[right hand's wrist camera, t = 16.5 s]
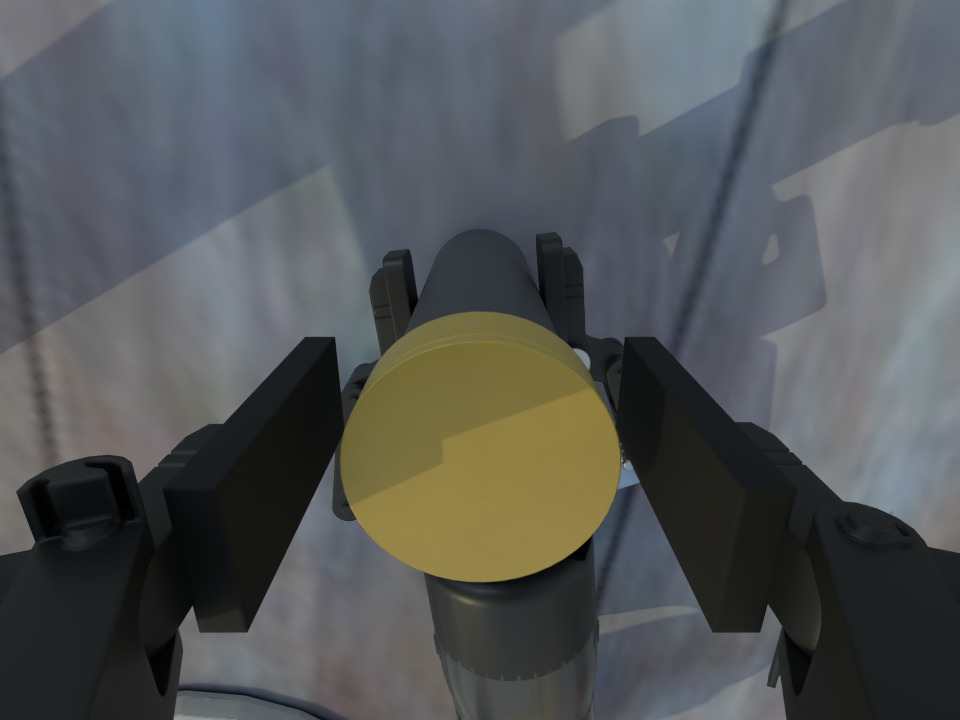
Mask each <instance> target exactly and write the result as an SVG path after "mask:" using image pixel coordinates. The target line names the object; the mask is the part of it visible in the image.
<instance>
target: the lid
mask: <svg viewBox="0 0 960 720" xmlns="http://www.w3.org/2000/svg"><path fill="white" fill-rule="evenodd" d="M340 474H341V480H342V484H343V489H344V493H345V495H346V498H347V500H348V503H349V505H350V508H351V510H352V511H353V513H354V515H355V517H356V518H357V520H358V522H359V523H360V524H361V526H362V527H363V528H364V530H365V531H366V532H367V534H368V535H369V536H370V537H371V538H372V539H373V540H374V541H375V542H376V543H377V544H378V545H379V546H381V547H382V548H383V549H384V550H386V551H387V552H388V553H389V554H391V555H392V556H394V557H395V558H397V559H399V560H400V561H402V562H403V563H405V564H407V565H409V566H411V567H414V568H416V569H418V570H420V571H423V572H426V573H428V574H431V575H434V576H438V577H442V578H447V579H451V580H458V581H466V582H494V581H504V580H509V579H515V578H519V577H523V576H526V575H530V574H533V573H536V572H538V571H541V570H543V569H545V568H548V567H550V566H552V565H554V564H555V563H557V562H559V561H561V560H563V559H564V558H566V557H567V556H569V555H570V554H571V553H573V552H574V551H576V550H577V549H578V548H579V547H580V546H581V545H583V544H584V543H585V542H586V541H587V540H588V539H589V538H590V537H591V536H592V534H593V533H594V532H595V531H596V530H597V529H598V527H599V526H600V525H601V523H602V521H603V520H604V518H605V517H606V515H607V514H608V512H609V510H610V507H611V505H612V503H613V501H614V499H615V495H616V492H617V489H618V485H619V481H620V474H621V448H620V441H619V436H618V433H617V430H616V427H615V423H614V420H613V418H612V416H611V414H610V412H609V410H608V408H607V406H606V404H605V402H604V400H603V398H602V396H601V394H600V392H599V390H598V388H597V386H596V384H595V382H594V380H593V378H592V376H591V374H590V372H589V370H588V368H587V367H586V365H585V364H584V363H583V361H582V360H581V358H580V357H579V356H578V355H577V354H576V352H575V351H574V350H573V349H572V348H571V347H570V346H569V345H568V344H567V343H566V342H564V341H563V340H562V339H561V338H559V337H558V336H557V335H556V334H554V333H552V332H551V331H549V330H547V329H546V328H544V327H542V326H540V325H538V324H536V323H534V322H531V321H529V320H527V319H523V318H520V317H516V316H513V315H509V314H503V313H496V312H477V311H476V312H465V313H457V314H453V315H448V316H444V317H441V318H438V319H435V320H432V321H430V322H427V323H425V324H423V325H421V326H419V327H417V328H415V329H413V330H412V331H410V332H409V333H407V334H406V335H404V336H403V337H402V338H400V339H399V340H398V341H397V342H395V343H394V344H393V345H392V346H391V347H390V348H389V349H388V350H387V351H386V352H385V354H384V355H383V356H382V357H381V359H380V360H379V361H378V362H377V364H376V365H375V367H374V369H373V371H372V372H371V374H370V376H369V378H368V380H367V382H366V384H365V386H364V388H363V390H362V392H361V394H360V396H359V398H358V400H357V402H356V404H355V406H354V408H353V410H352V412H351V414H350V417H349V419H348V422H347V424H346V427H345V429H344V433H343V437H342V442H341V448H340Z"/></svg>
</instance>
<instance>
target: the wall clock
mask: <svg viewBox="0 0 960 720" xmlns="http://www.w3.org/2000/svg"><path fill="white" fill-rule="evenodd" d="M174 720H320V719H318V718H316V717H314V716H312V715H309V714H307V713H305V712H303V711H301V710H297V709H294V708H290V707H286V706H282V705H279V704H275V703H271V702H267V701H264V700H260V699H256V698H252V697H249V696H245V695H233V694H222V693H210V692H199V691H187V690H186V691H177V698H176V705H175V713H174Z"/></svg>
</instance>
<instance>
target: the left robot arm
mask: <svg viewBox="0 0 960 720" xmlns="http://www.w3.org/2000/svg"><path fill="white" fill-rule="evenodd" d="M536 249H537V264H538V278H539V293H540V296H541V298H542V301H543V303H544V306H545V308H546V310H547V313H548V315H549V318H550V320H551V322H552V325H553V327H554V330H555V332H556V334H557V336H558V337H559V338H561V339H562V340H563V341H564V342H566V343H567V344H568V345H569V346H570V347H571V348H572V349H573V350H574V351H575V352H576V354H577V355H578V356H579V357H580V358H581V360H582V361H583V363H584V364H585V365H586V367H587V368H588V370H589V372H590V374H591V376H592V378H593V380H595V381H599V382H603V385H604V388H605V391H606V394H607V397H608V400H609V403H610V406H611V409H612V412H613V416H614V419H615V422H616V418H617V409H618V399H619V390H620V380H621V371H622V361H623V352H624V346H623V345H622V343H621V342H620V341H619V340H617V339H615V338H605V339H603V340H601V339H597V338H593V337H590V336H588V335H586V334H585V310H584V286H583V267H582V265H581V263H580V261H579V259H578V256H577V254H576V253H575V252H574V251H573V250H572V249H571V248H570V247H567V248H563V246H562V240H561V238H560V236H559V235H558V234H557V233H556V232H553V233H544V234H536ZM369 293H370V298H371V304H372V307H373V314H374V318H375V324H376V330H377V335H378V340H379V345H380V351H381V357H382V356H383V355H384V354H385V352H386V351H387V350H388V349H389V348H390V347H391V346H392V345H393V344H394V343H395V342H397V341H398V340H399V339H400V338H402V337H403V336H404V334H405V331H406V329H407V327H408V324H409V322H410V319H411V317H412V314H413V312H414V310H415V307H416V305H417V302H418V296H417V290H416V283H415V277H414V271H413V264H412V258H411V254H410V251H409V249H405V250H396V251H389V253H388V254H387V255H386V256H385V257H384V259H383V268H380V269H379V270H378V271H377V272H376V273H375V274H374V275H373V277H372V281H371V285H370V290H369ZM380 359H381V358H380ZM380 359H378V360H377V361H374V362H372V363H370V364H367V363H365V364H361V365H359V366H357V367H356V368H355V370H354V372H353V373H352V375H351V377H350V379H349V380H348V382H347V384H346V386H345V387H344V389H343V391H342V393H341V399H342V409H343V418H344V427H346V424H347V422H348V419H349V417H350V414H351V412H352V410H353V408H354V406H355V404H356V402H357V400H358V398H359V396H360V394H361V392H362V390H363V388H364V386H365V384H366V382H367V380H368V378H369V376H370V374H371V372H372V371H373V369H374V367H375V365H376V364H377V362H378V361H379V360H380ZM342 437H343V436H342ZM619 441H620V440H619ZM341 442H342V438H341V440H340V442H339V444H338V446H337V448H336V452H335V470H334V488H333V505H332V509H333V512H334V514H335V515H336V516H337V517H338V518H340V519H342V520H345V521H353V520H356V519H357V518H356V517H355V515H354V513H353V511H352V510H351V508H350V505H349V503H348V500H347V498H346V495H345V493H344V489H343V484H342V480H341V474H340V448H341ZM620 448H621V474H620V481H619V485H618V489H621V488H624V487H628V486H631V485H634V484H637V483H640V481H639V479H638V477H637V475H636V473H635V471H634V469H633V467H632V465H631V462H630V460H629V458H628V456H627V454H626V452H625V450H624V448H623V446H622V444H621V442H620ZM641 486H642V485H641ZM618 489H617V490H618ZM424 575H425V581H426V586H427V591H428V596H429V602H430V607H431V612H432V617H433V623H434V628H435V629H434V641H435V646H436V651H437V654H438V655H439V657H440V660H441V665H442V669H443V673H444V676H445V679H446V682H447V685H448V687H449V690H450V692H451V695H452V697H453V700H454V705H455V711H456V716H457V720H595V711H594V688H593V686H594V678H595V672H596V665H597V644H598V642H599V619H598V618H597V615H596V598H595V573H594V546H593V534H592V536H591V537H590V538H589V539H588V540H587V541H586V542H585V543H584V544H583V545H581V546H580V547H579V548H578V549H577V550H576V551H574V552H573V553H571V554H570V555H569V556H567V557H566V558H564V559H563V560H561V561H559V562H557V563H555V564H554V565H552V566H550V567H548V568H545V569H543V570H541V571H538V572H536V573H533V574H530V575H526V576H523V577H519V578H515V579H509V580H504V581H494V582H466V581H458V580H451V579H447V578H442V577H438V576H434V575H431V574H428V573H426V572H424Z"/></svg>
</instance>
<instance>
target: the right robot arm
mask: <svg viewBox="0 0 960 720" xmlns="http://www.w3.org/2000/svg"><path fill="white" fill-rule="evenodd" d="M344 429H345V427H344V418H343V409H342V399H341V390H340V380H339V371H338V362H337V352H336V343H335V337H305V338H304V339H303V340H302V341H301V342H300V343H299V344H298V345H297V346H296V347H295V348H294V350H293V351H292V352H291V353H290V354H289V355H288V356H287V357H286V358H285V359H284V360H283V361H282V362H281V363H280V364H279V365H278V367H277V368H276V369H275V370H274V371H273V372H272V373H271V374H270V375H269V376H268V377H267V378H266V379H265V380H264V381H263V382H262V384H261V385H260V386H259V387H258V388H257V389H256V390H255V391H254V392H253V393H252V394H251V395H250V396H249V397H248V398H247V399H246V401H245V402H244V403H243V404H242V405H241V406H240V407H239V408H238V409H237V410H236V411H235V412H234V413H233V414H232V415H231V416H230V418H229V419H228V420H227V421H226V422H225V423H224V424H209V425H207V426H205V427H203V428H201V429H199V430H198V431H196V432H194V433H192V434H190V435H188V436H187V437H185V438H184V439H183V440H182V441H181V442H180V443H179V444H178V445H177V446H176V447H175V448H174V449H173V450H172V451H171V454H168V455H167V456H166V457H165V458H164V459H163V460H162V461H161V462H160V463H159V464H158V467H155V468H154V469H152V470H151V471H150V472H149V473H148V474H147V475H146V476H145V477H144V478H143V479H142V480H141V481H140V482H139V483H137V480H136V476H135V473H134V469H133V465H132V462H130V461H129V460H127V459H126V458H124V457H121V456H113V455H102V456H90V457H85V458H81V459H77V460H73V461H69V462H66V463H63V464H60V465H58V466H55V467H53V468H50V469H48V470H45V471H44V472H42V473H40V474H38V475H37V476H35V477H33V478H31V479H30V480H28V481H27V482H26V483H25V484H24V485H23V486H22V487H21V488H20V489H18V490H17V491H16V492H17V495H18V497H19V500H20V503H21V505H22V508H23V511H24V513H25V516H26V518H27V521H28V524H29V526H30V529H31V531H32V534H33V537H34V539H35V544H34V546H33V548H32V549H31V550H27V551H22V552H17V553H12V554H7V555H2V556H0V720H174V713H175V705H176V698H177V691H178V684H179V677H180V669H181V662H182V655H183V647H182V640H181V636H180V633H179V629H178V628H179V626H180V624H181V623H182V621H183V620H184V618H185V617H186V615H187V613H188V612H189V610H190V609H191V607H192V606H193V608H194V612H195V616H196V620H197V624H198V627H199V631H200V632H248V630H249V628H250V626H251V624H252V622H253V619H254V617H255V615H256V613H257V611H258V609H259V607H260V605H261V603H262V601H263V599H264V597H265V595H266V593H267V591H268V589H269V586H270V584H271V582H272V580H273V578H274V576H275V574H276V572H277V570H278V568H279V566H280V564H281V562H282V560H283V558H284V555H285V553H286V551H287V549H288V547H289V545H290V543H291V541H292V539H293V537H294V535H295V533H296V531H297V529H298V527H299V524H300V522H301V520H302V518H303V516H304V514H305V512H306V510H307V508H308V506H309V504H310V502H311V500H312V498H313V496H314V493H315V491H316V489H317V487H318V485H319V483H320V481H321V479H322V477H323V475H324V473H325V471H326V469H327V467H328V465H329V462H330V460H331V458H332V456H333V454H334V452H335V450H336V448H337V446H338V444H339V442H340V440H341V438H342V436H343V433H344ZM616 430H617V433H618V436H619V440H620V442H621V444H622V446H623V448H624V450H625V452H626V454H627V456H628V458H629V460H630V462H631V465H632V467H633V469H634V471H635V473H636V475H637V477H638V479H639V481H640V483H641V485H642V487H643V489H644V491H645V493H646V496H647V498H648V500H649V502H650V504H651V506H652V508H653V510H654V512H655V514H656V516H657V518H658V520H659V522H660V524H661V527H662V529H663V531H664V533H665V535H666V537H667V539H668V541H669V543H670V545H671V547H672V549H673V551H674V553H675V555H676V558H677V560H678V562H679V564H680V566H681V568H682V570H683V572H684V574H685V576H686V578H687V580H688V582H689V584H690V586H691V589H692V591H693V593H694V595H695V597H696V599H697V601H698V603H699V605H700V607H701V609H702V611H703V613H704V615H705V617H706V620H707V622H708V624H709V626H710V628H711V630H712V632H760V631H761V627H762V624H763V620H764V616H765V612H766V608H767V604H769V606H770V607H771V609H772V611H773V612H774V614H775V615H776V617H777V618H778V620H779V622H780V623H781V625H782V629H781V633H780V636H779V640H778V643H777V647H776V651H775V654H774V658H773V661H772V665H771V668H770V672H769V677H768V683H767V686H770V687H773V688H775V687H776V683H777V680H778V676H780V675H781V682H782V689H783V697H784V704H785V711H786V718H787V720H960V553H956V552H951V551H946V550H941V549H936V548H931V547H928V546H927V545H926V543H925V541H924V540H923V539H922V538H921V537H920V535H919V534H918V533H917V532H916V531H915V530H914V529H913V528H912V527H910V526H909V525H907V524H906V523H904V522H903V521H901V520H900V519H898V518H897V517H895V516H892V515H890V514H888V513H886V512H884V511H881V510H879V509H877V508H873V507H870V506H866V505H863V504H859V503H854V502H844V501H842V500H841V499H840V498H839V497H838V496H837V495H836V494H835V493H834V492H833V491H832V490H831V489H830V488H829V487H828V486H827V485H826V484H825V483H824V482H823V481H822V480H820V479H819V478H818V477H817V476H816V475H815V474H814V473H813V472H812V471H811V470H810V469H809V468H808V467H807V466H806V465H802V461H801V460H800V459H799V458H798V457H797V456H796V455H795V454H794V453H792V452H789V449H788V448H787V447H786V446H785V445H784V444H783V443H782V442H781V441H780V440H779V439H778V438H777V437H776V436H775V435H774V434H772V433H770V432H768V431H766V430H764V429H762V428H761V427H759V426H757V425H755V424H753V423H751V422H734V421H733V420H732V419H731V418H730V416H729V415H728V414H727V413H726V412H725V411H724V410H723V409H722V408H721V407H720V406H719V405H718V404H717V403H716V402H715V401H714V399H713V398H712V397H711V396H710V395H709V394H708V393H707V392H706V391H705V390H704V389H703V388H702V387H701V386H700V385H699V384H698V382H697V381H696V380H695V379H694V378H693V377H692V376H691V375H690V374H689V373H688V372H687V371H686V370H685V369H684V368H683V367H682V365H681V364H680V363H679V362H678V361H677V360H676V359H675V358H674V357H673V356H672V355H671V354H670V353H669V352H668V351H667V350H666V348H665V347H664V346H663V345H662V344H661V343H660V342H659V341H658V340H657V339H656V338H655V337H625V343H624V352H623V361H622V371H621V380H620V390H619V399H618V409H617V418H616Z"/></svg>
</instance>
